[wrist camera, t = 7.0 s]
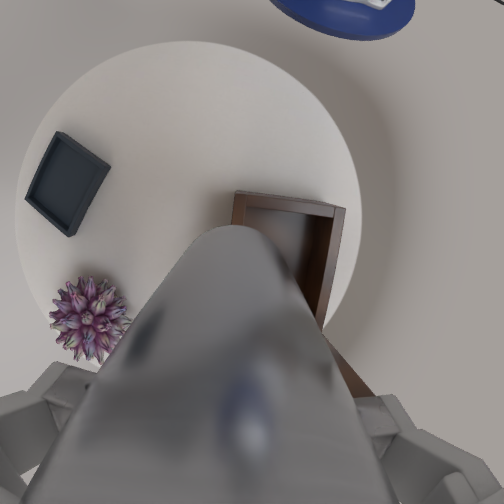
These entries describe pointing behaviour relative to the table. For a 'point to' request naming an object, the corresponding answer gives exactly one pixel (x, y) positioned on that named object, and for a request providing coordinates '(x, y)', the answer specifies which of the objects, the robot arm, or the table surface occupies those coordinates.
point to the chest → (298, 239)
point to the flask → (217, 397)
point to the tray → (66, 183)
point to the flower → (89, 319)
